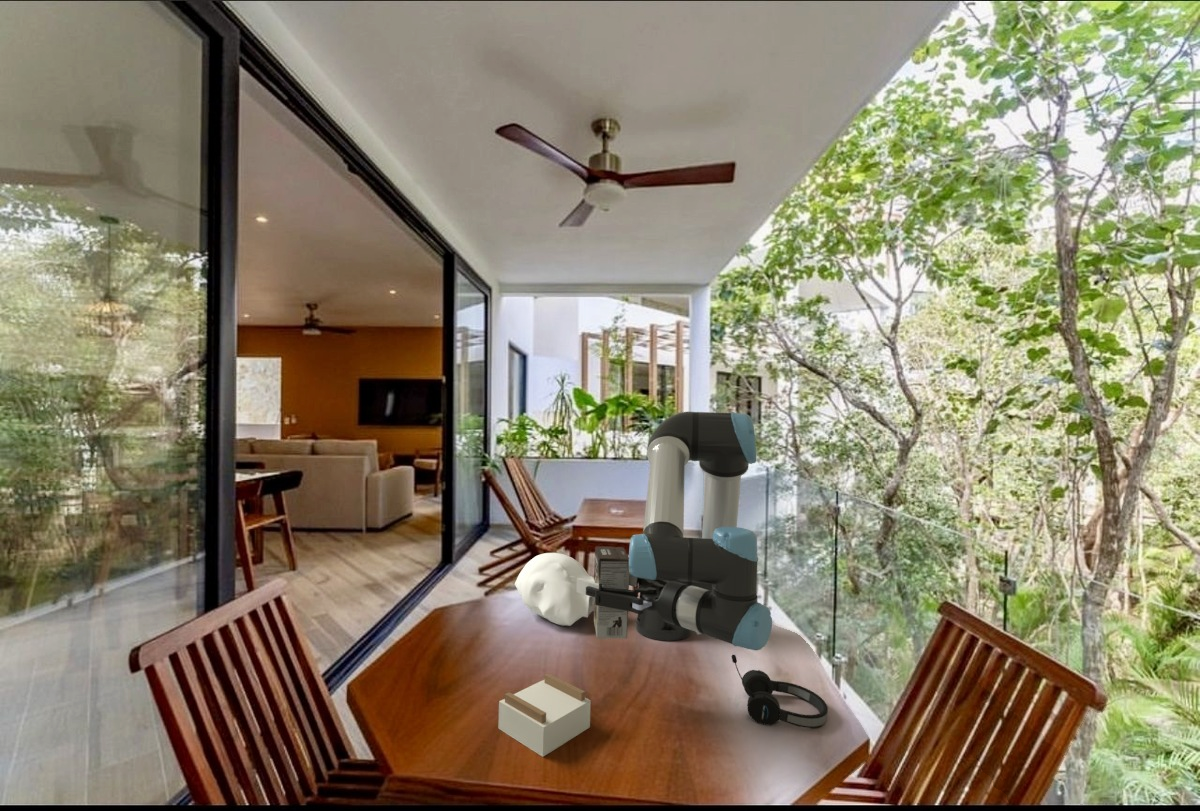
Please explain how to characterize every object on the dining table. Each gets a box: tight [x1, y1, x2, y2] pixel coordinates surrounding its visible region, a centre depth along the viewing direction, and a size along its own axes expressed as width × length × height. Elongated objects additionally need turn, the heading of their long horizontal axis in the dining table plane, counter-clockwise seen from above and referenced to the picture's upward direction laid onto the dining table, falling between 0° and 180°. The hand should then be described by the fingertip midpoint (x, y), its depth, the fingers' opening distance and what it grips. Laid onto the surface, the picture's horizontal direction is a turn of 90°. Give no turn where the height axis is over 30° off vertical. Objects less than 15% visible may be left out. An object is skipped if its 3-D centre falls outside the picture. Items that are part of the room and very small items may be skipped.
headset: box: [731, 654, 829, 729], centre depth 109 cm, size 13×9×19 cm
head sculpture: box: [514, 552, 595, 627], centre depth 154 cm, size 18×20×25 cm
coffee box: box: [593, 546, 630, 640], centre depth 111 cm, size 9×6×16 cm
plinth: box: [497, 673, 591, 758], centre depth 100 cm, size 12×12×6 cm
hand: (595, 579), depth 114 cm, fingers closed on coffee box, 10 cm apart
